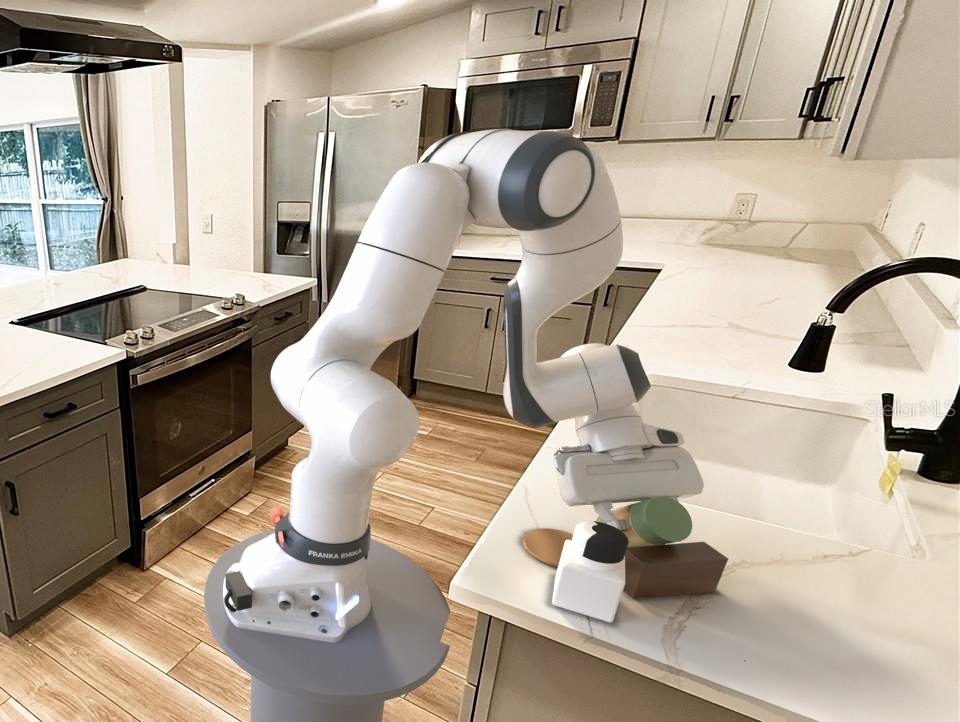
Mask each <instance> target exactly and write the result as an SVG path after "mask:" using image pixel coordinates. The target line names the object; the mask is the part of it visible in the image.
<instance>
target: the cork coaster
mask: <svg viewBox="0 0 960 722" xmlns="http://www.w3.org/2000/svg"><path fill="white" fill-rule="evenodd" d="M573 534H574V533H571V532H568V531H565V530H561V529H555V528H544V527H543V528H535V529H531V530H529V531H527V532H526V533H525V534H524V537H523V542H522V543H523V546H524V548H525V550H526V551H527V552H528V553H529V554H530V555H531V556H532V557H534V558H535V559H537V560H538V561H540V562H542V563H545V564H546V565H549V566H552V567H555V568H558V566H559V562H560V558H561V554H562V551H563V547H564V543H565V541H566V540H571V541H572V538H573Z"/></svg>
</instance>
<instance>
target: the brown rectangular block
mask: <svg viewBox="0 0 960 722" xmlns="http://www.w3.org/2000/svg"><path fill="white" fill-rule="evenodd" d="M728 561H729V557H727V556H725V555H724V554H723V553H721V552H720V551H718V550H717V549H716V548H714V547H712V546H711V545H710V544H708V543H707V542H705V541H691V542H681V543H678V542H677V543H669V544H665V545H651V546H638V547H627V550H626V553H625V586H624V589H623V591H625V593H627V594H628V595H629V596H630V597H631V598H632V599H645V598H646V599H647V598H657V597H658V598H659V597H670V596H672V597H673V596H684V595H685V596H686V595H698V594H708V593H710V594H712V593H715V592H716V591H717V588H718V586H719V583H720V580H721V578H722V575H723V573H724V571H725V568H726V566H727V563H728Z"/></svg>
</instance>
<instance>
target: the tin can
mask: <svg viewBox="0 0 960 722" xmlns="http://www.w3.org/2000/svg"><path fill="white" fill-rule="evenodd" d="M610 510H611V511H612V512H613V513H614V515H615V516H616V517H617V518H618V519H619V520H622V519H624V521H625V526H626V527H627V531H626V532H623V533H624V534H625V535H626V536H627V538H628V540H629V543H628V546H627V547H638V546H651V545H665V544H675V543H678V542H682V541H685V540H686V539H687V538H688V537H690V536H691V534H692V531H693V519H692V517H691V515H690V513H689V511H688V510H687V508H686V507H685V506H684V505H683V504H682V503H680V501H679V502H677V501H676V500H674V499H671V498H668V497H656V498H652V499H649V500H645V501H636V502H633V503H631V504H628V505H623V506H620V507H617V508H614V509H610ZM595 521H596V522H602V523H606V524H607V522H605V521H604V520H603V519H602V518H601V517H600V516H599V515H598V516H597V517H596V519H595Z"/></svg>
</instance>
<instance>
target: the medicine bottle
mask: <svg viewBox="0 0 960 722" xmlns="http://www.w3.org/2000/svg"><path fill="white" fill-rule="evenodd" d="M572 534H573V538H572V541H571V540H566V541H565V543H564V547H563V551H562V554H561V558H560V562H559V566H558V567H557V570H556V573H555V577H554V586H553V592H552V600H551V603H552V605H553V606H555V607H559V608H561V609H565V610H568V611H571V612H575V613H577V614H581V615H585V616H587V617H590V618H594V619H597V620H599V621H603V622H607V623H613V622H614V620H615V616H616V614H617V610H618V607H619V604H620V601H621V599H622V596H623V592H624V590H623V589H624V586H625V553H626V550H627V546H628V543H629V540H628V538H627V536H626V535H625V534H624V533H623V532H622V531H621V530H619V529H618V528H616V527H614V526H611V525H609V524H606V523H602V522H596V520H587V521H586V520H585V521H582V522H580V523H578V524H576V526H575V528H574V531H573V533H572Z"/></svg>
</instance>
